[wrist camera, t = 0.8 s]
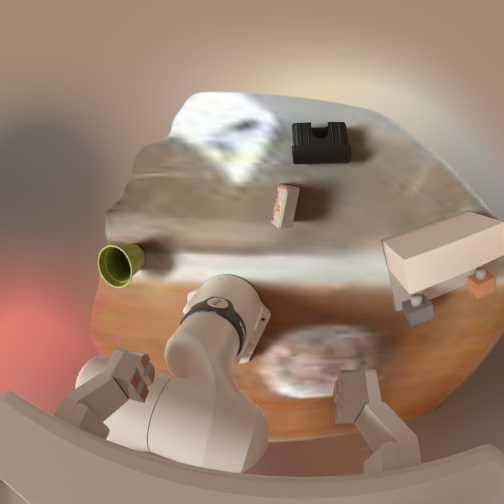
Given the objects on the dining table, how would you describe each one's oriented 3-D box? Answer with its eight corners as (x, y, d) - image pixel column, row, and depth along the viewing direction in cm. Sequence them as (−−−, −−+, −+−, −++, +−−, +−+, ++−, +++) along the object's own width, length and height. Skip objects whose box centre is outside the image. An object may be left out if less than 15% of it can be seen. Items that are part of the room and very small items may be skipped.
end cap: (294, 165, 52) (293, 163, 45) (291, 129, 50) (289, 122, 44) (345, 164, 50) (352, 162, 44) (343, 127, 48) (348, 121, 42)
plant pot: (116, 237, 62) (94, 246, 54) (148, 235, 61) (127, 244, 52) (123, 274, 65) (102, 287, 56) (154, 274, 63) (135, 288, 55)
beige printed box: (299, 187, 53) (299, 189, 43) (292, 221, 55) (291, 231, 45) (280, 183, 53) (276, 185, 44) (274, 217, 55) (268, 226, 46)
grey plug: (424, 307, 49) (433, 318, 44) (403, 314, 50) (411, 326, 45) (422, 287, 48) (432, 297, 43) (400, 295, 49) (408, 306, 44)
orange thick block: (484, 281, 45) (495, 290, 40) (467, 289, 46) (478, 298, 41) (483, 262, 44) (495, 270, 39) (466, 270, 45) (477, 278, 40)
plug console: (474, 277, 50) (505, 301, 37) (394, 308, 55) (414, 342, 42) (466, 210, 47) (503, 222, 34) (381, 239, 52) (403, 260, 39)
